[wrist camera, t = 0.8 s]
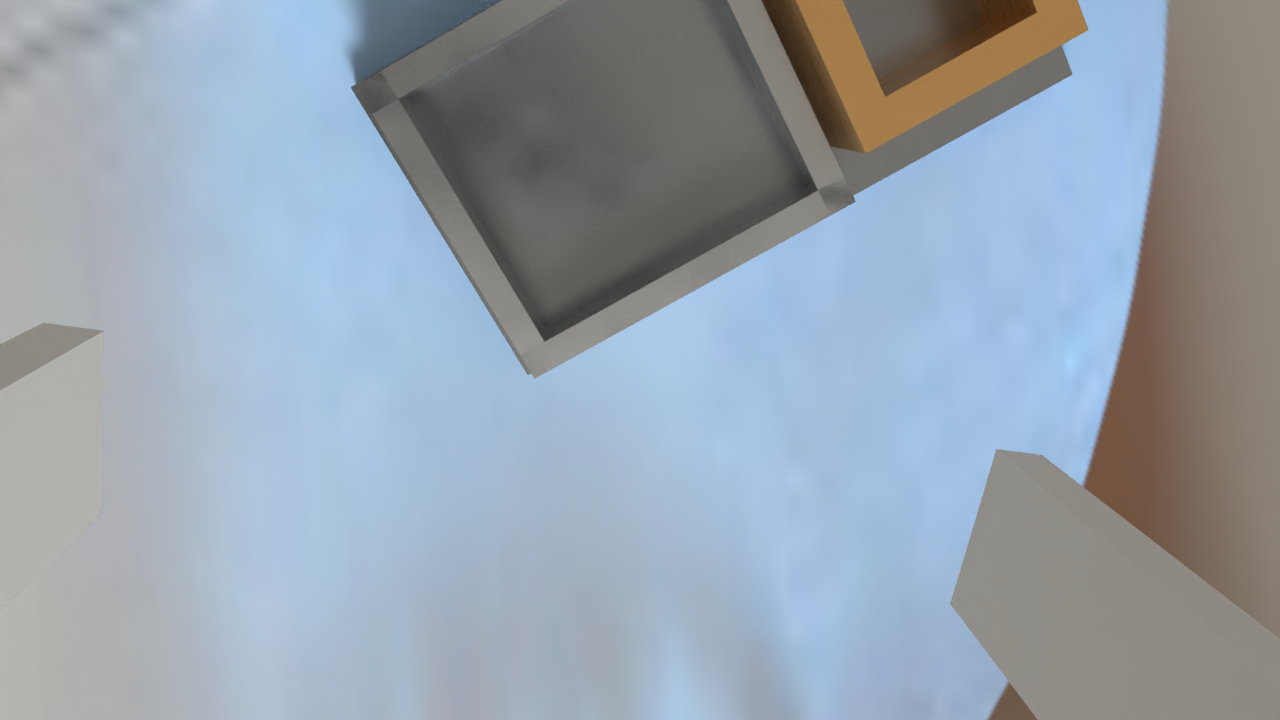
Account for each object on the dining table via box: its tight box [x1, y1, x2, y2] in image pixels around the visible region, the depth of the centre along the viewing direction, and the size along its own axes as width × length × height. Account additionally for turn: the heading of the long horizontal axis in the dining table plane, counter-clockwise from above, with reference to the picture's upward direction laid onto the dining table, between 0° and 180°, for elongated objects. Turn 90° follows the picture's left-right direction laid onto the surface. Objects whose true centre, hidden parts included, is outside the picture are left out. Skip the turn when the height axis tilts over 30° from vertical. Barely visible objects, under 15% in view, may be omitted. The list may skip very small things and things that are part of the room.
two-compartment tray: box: [351, 0, 1088, 379], centre depth 32 cm, size 12×23×5 cm, turn 119°
